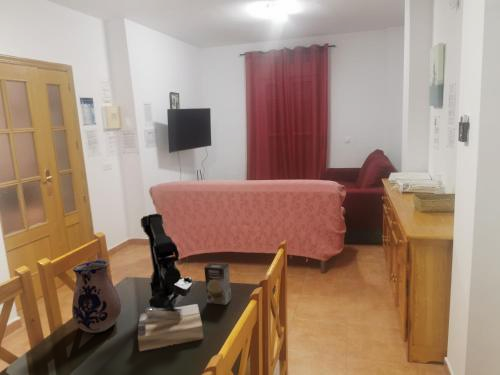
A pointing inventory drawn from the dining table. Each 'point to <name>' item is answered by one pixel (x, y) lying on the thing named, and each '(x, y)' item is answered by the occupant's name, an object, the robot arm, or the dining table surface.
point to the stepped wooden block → (169, 332)
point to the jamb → (185, 309)
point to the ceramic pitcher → (94, 297)
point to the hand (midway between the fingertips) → (172, 312)
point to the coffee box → (217, 283)
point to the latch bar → (163, 313)
